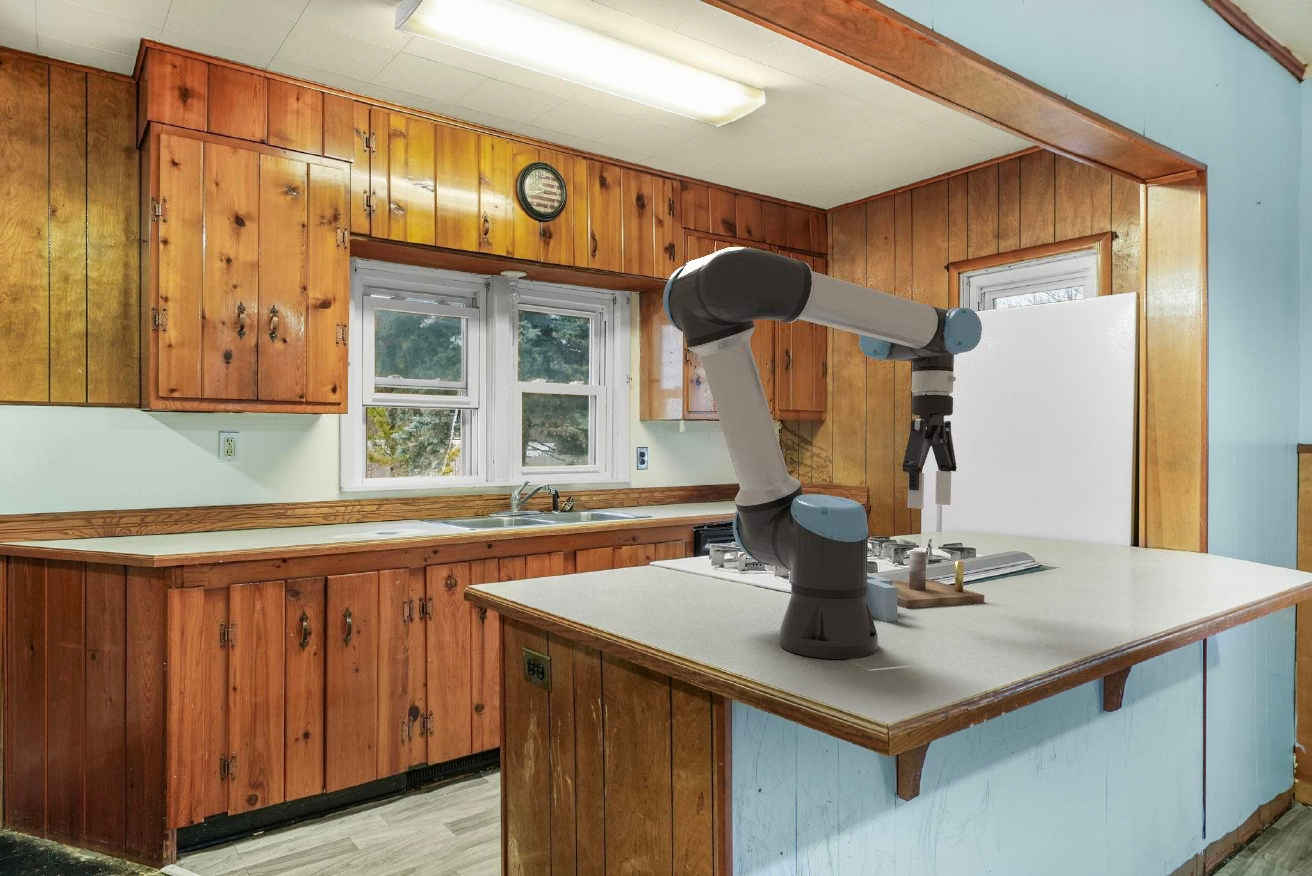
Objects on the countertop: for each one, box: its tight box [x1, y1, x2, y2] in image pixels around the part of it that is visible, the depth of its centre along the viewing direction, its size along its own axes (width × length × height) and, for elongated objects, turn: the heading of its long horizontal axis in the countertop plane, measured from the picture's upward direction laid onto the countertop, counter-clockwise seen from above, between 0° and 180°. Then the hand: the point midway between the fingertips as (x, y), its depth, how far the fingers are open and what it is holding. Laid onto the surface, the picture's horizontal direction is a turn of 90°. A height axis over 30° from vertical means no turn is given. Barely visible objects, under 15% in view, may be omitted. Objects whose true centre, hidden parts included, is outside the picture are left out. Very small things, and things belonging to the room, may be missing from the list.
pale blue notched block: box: [867, 572, 898, 623], centre depth 150 cm, size 14×8×6 cm, turn 18°
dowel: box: [954, 560, 965, 592], centre depth 163 cm, size 2×2×6 cm
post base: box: [892, 550, 985, 609], centre depth 165 cm, size 18×18×9 cm
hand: (929, 506), depth 153 cm, fingers open, 13 cm apart
